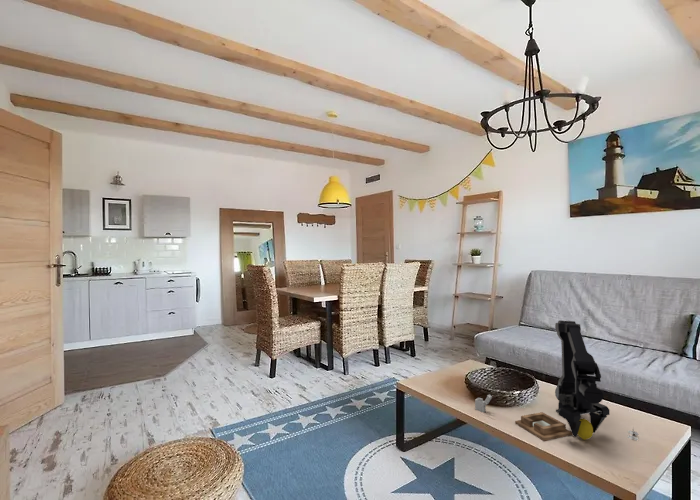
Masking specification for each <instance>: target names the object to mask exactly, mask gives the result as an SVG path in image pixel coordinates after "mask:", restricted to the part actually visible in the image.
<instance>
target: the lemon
mask: <svg viewBox="0 0 700 500" xmlns="http://www.w3.org/2000/svg"><path fill="white" fill-rule="evenodd" d="M579 421H581V424H580V427H579V431H578V434H577V436H578V437H579V438H580V439H582V440H584V441H585V440H589V439H591V438H592V437H593V434H594V433H593V427H592V425H591V422H590V421H589V420H588V419H586V418H585V417H582V418H581V419H580V420H579Z"/></svg>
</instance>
